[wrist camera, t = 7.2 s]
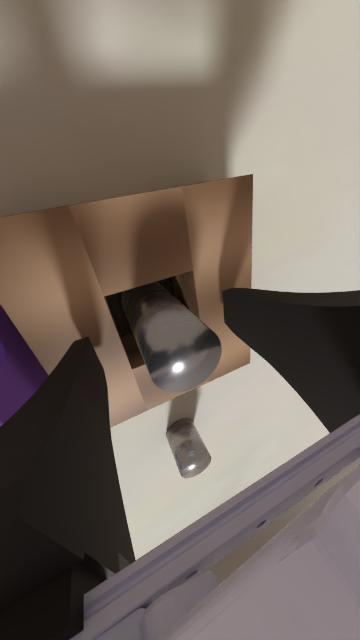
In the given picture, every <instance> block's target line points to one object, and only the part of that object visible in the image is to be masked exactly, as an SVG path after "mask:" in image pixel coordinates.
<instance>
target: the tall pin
mask: <svg viewBox="0 0 360 640" xmlns="http://www.w3.org/2000/svg"><path fill="white" fill-rule="evenodd" d="M121 304H122V308H123V310H124V313H125V315H126V318H127V320H128V323H129V325H130V327H131V330H132V332H133V335H134V337H135V340H136V342H137V345H138V347H139V350H140V352H141V355H142V357H143V360H144V362H145V365H146V367H147V370H148V372H149V374H150V377H151V379H152V381H153V383H154V384H155V385H156V386H157V387H158V388H160V389H162V390H164V391H167V392H183V391H187V390H190V389H192V388H194V387H196V386H198V385H200V384H201V383H203V382H204V381H205V380H206V379H207V378H208V377H209V376H210V375H211V374H212V373H213V372H214V370H215V369H216V367H217V365H218V363H219V361H220V357H221V352H222V347H221V342H220V339H219V337H218V336H217V335H216V333H215V332H213V331H212V330H211V329H210V328H209V327H208V326H207V325H206V324H204V323H203V322H202V321H201V320H200V319H199V318H198V317H197V316H195V315H194V314H193V313H192V312H191V311H190V310H189V309H188V308H187V307H185V306H184V305H183V304H182V303H181V302H180V301H179V300H178V299H176V298H175V297H174V296H173V295H172V294H171V293H170V292H169V291H167V290H166V289H165V288H164V287H163V286H162V285H161V284H160V283H158V282H157V281H156V282H152V283H149V284H146V285H142V286H139V287H135V288H132V289H129V290H125V291H123V293H122V297H121Z"/></svg>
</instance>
